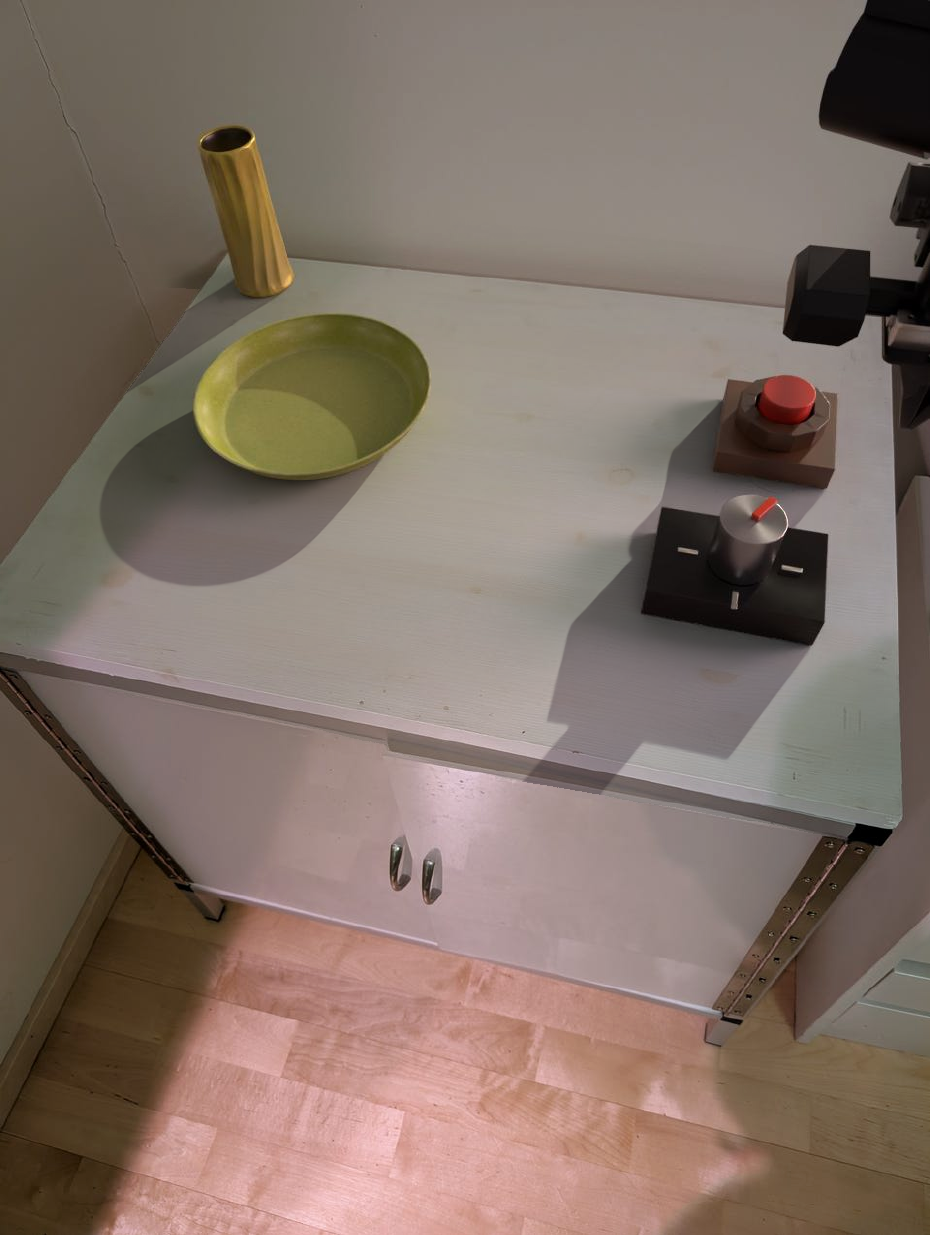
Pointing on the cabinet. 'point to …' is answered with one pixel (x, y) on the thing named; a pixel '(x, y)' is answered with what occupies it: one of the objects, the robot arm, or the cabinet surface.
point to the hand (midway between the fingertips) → (905, 424)
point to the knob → (747, 539)
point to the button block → (775, 439)
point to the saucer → (312, 395)
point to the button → (787, 399)
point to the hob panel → (765, 608)
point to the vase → (245, 210)
